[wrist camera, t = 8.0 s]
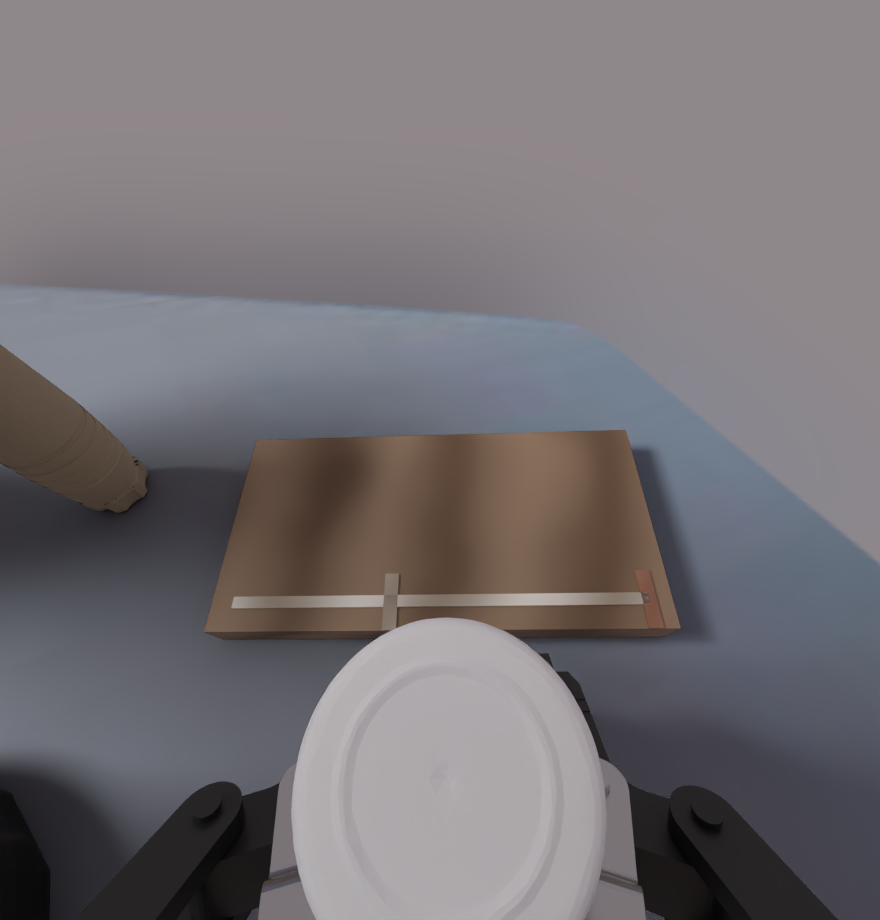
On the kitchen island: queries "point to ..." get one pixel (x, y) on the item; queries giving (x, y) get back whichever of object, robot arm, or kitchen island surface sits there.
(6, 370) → the handle
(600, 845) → the sprinkles bottle
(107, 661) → the kitchen island surface
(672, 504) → the kitchen island surface
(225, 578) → the walnut board
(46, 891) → the beer stein
